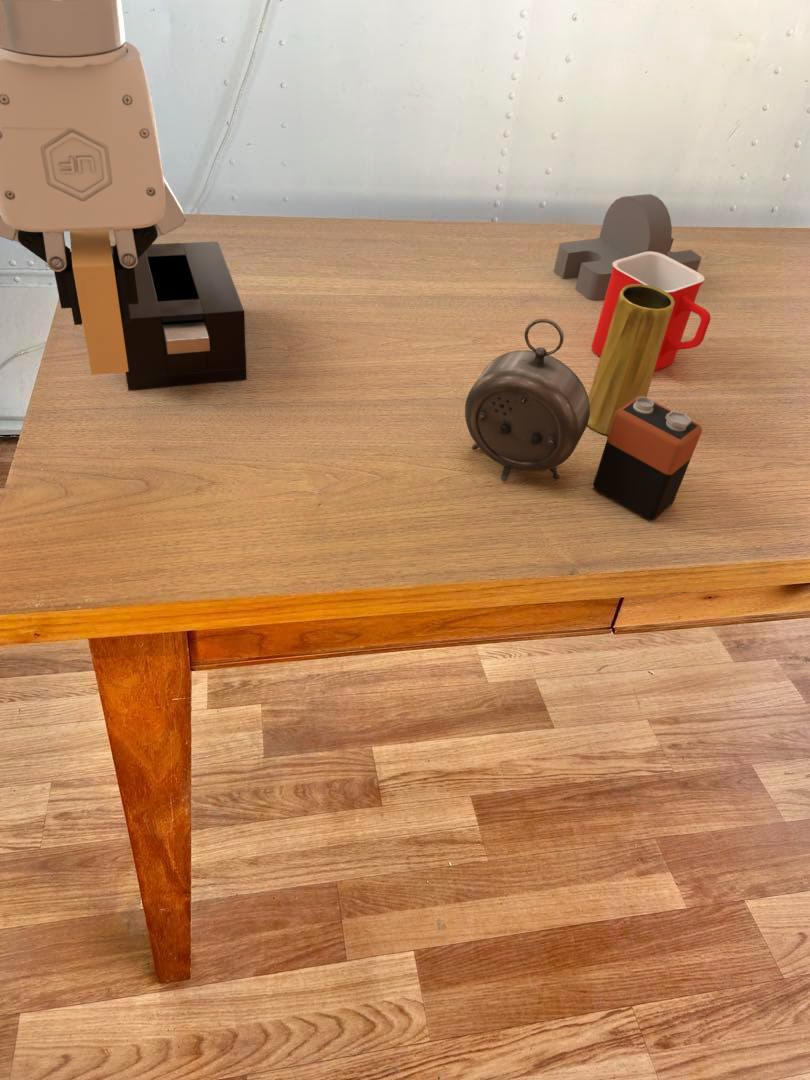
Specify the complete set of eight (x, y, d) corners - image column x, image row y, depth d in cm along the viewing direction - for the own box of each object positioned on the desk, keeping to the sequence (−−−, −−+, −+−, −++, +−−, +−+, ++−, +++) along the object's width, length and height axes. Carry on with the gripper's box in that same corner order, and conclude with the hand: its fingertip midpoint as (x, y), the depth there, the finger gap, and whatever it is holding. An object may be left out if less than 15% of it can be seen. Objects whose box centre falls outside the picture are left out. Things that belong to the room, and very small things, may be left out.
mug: (583, 348, 102) (605, 263, 95) (628, 331, 106) (653, 249, 99) (660, 397, 96) (691, 310, 89) (706, 377, 100) (738, 293, 93)
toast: (91, 374, 60) (72, 266, 55) (86, 318, 65) (68, 215, 60) (128, 372, 61) (113, 264, 55) (120, 316, 66) (105, 213, 61)
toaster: (128, 390, 87) (118, 319, 82) (115, 313, 98) (105, 245, 92) (246, 379, 90) (244, 310, 85) (221, 306, 101) (218, 241, 96)
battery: (650, 524, 79) (684, 436, 72) (589, 488, 82) (617, 401, 76) (674, 504, 82) (709, 417, 75) (614, 470, 85) (642, 384, 78)
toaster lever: (167, 354, 82) (166, 340, 81) (164, 338, 84) (162, 324, 83) (210, 351, 83) (209, 337, 82) (205, 335, 85) (204, 321, 84)
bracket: (696, 284, 118) (723, 206, 111) (591, 301, 111) (612, 219, 104) (653, 254, 124) (675, 178, 117) (550, 268, 118) (567, 189, 110)
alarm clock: (573, 474, 84) (617, 324, 73) (557, 505, 80) (600, 352, 69) (470, 438, 86) (497, 289, 75) (449, 467, 83) (474, 313, 72)
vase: (580, 431, 89) (616, 305, 80) (581, 400, 94) (615, 277, 84) (639, 441, 89) (682, 316, 79) (636, 409, 93) (677, 287, 84)
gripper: (-111, 35, 44) (-23, 350, 57) (207, 42, 49) (223, 332, 61) (-96, 0, 49) (-19, 295, 62) (190, 9, 54) (208, 283, 66)
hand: (101, 312), depth 61 cm, fingers closed on toast, 2 cm apart
